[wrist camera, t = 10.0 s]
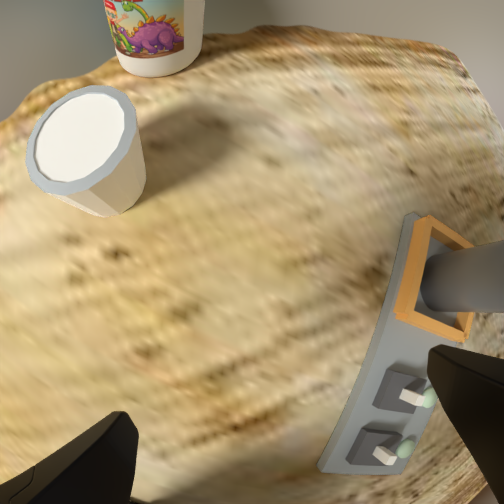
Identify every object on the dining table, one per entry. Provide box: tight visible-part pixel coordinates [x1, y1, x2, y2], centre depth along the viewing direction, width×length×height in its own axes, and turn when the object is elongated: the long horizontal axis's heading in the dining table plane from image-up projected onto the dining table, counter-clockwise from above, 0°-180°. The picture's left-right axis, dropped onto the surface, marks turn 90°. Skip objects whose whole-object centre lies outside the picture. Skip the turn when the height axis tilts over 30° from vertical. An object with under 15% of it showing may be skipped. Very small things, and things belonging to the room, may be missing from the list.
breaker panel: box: [316, 212, 475, 475], centre depth 19 cm, size 22×9×4 cm, turn 159°
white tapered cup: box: [25, 85, 147, 217], centre depth 16 cm, size 7×7×7 cm
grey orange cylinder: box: [420, 240, 504, 313], centre depth 14 cm, size 5×5×14 cm
